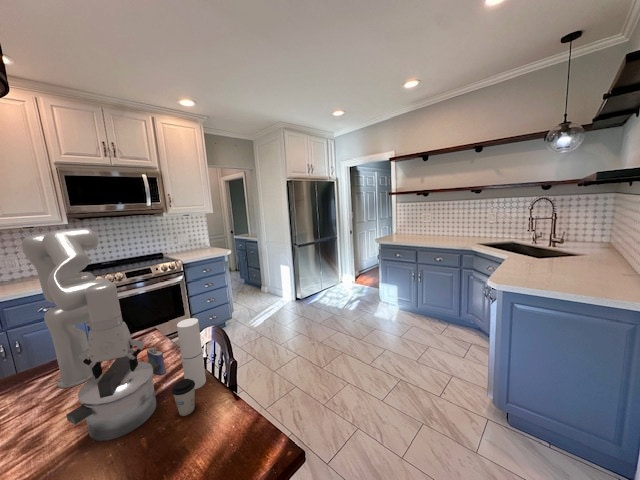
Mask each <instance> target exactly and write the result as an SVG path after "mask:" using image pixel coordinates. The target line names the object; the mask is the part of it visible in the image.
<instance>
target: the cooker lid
mask: <svg viewBox="0 0 640 480" xmlns="http://www.w3.org/2000/svg"><path fill="white" fill-rule="evenodd" d="M129 360H130V358H129V357H127V356H125V357H122V358H117V359H114V361H113V362H112V364H111V365H110V367H104V368H102V374H101V375H100V377H99V378H98V379H95V376H94V377H92V378H91V379H89V380H88V381H86V382H84V384H83V385H82V386H81V388H80V389H79V391H78V394H77V398H78V401H79V403H80V404H81V405H86V406H98V405H104V404H108V403H111V402H114V401H117V400H120V399H122V398H124V397H126V396H128V395H130V394H132V393H134V392H135V391H137V390H138V389H140V388H141V387H143V386H144V385H145V384H146V383H147V382H148V381H149V380H150V378H151V377H152V378H153V375H154V374H153V367H152V365H151V364H150V363H149V361H140V360H138V366H137V367H136V369H135V370H134V371H131V368H130V363H129Z"/></svg>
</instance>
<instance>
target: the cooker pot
mask: <svg viewBox="0 0 640 480" xmlns="http://www.w3.org/2000/svg"><path fill="white" fill-rule="evenodd" d="M150 364H151V365H152V367H153V375H155V374H154V373H156V372H157V371H159V370H160V369H161V366H160V364H158V363H155V362H152V363H150ZM153 381H154V380H153V376H152V377H151V378H150V380H149V381H148V382H147V383H146V384H145V385H144V386H143V387H141V388H140V389H138V390H137V391H135V392H134V393H132V394H130V395H128V396H126V397H124V398H122V399H120V400H117V401H114V402H111V403H108V404H104V405H98V406H86V405H83V404H81V405H80V406H78V407H76V408H74V409H73V410H71V411H70V412H68V413H66V414H65V415H66V419H67V422H68V423H71V424H73V425H74V426H76V425H77V424H79V423H81V422H82V421H84V420H85V421H86V426H87V430H88V434H89V437H90V438H91V439H93V440H94V441H98V442H99V441H101V442H103V441H104V442H105V441H109V440H113V439H114V440H115V439H118V438H120V437H122V436H125V435H127V434H130V433H132V432H133V431H134V430H136V429H137V428H139V427H140V426H142V425H144V423H146V421H148V419H150V417H151V416H152V415H153V414H154V412H155V411H156V409H157V398H156V393H155V387H154V382H153Z"/></svg>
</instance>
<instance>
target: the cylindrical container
mask: <svg viewBox="0 0 640 480" xmlns="http://www.w3.org/2000/svg"><path fill="white" fill-rule="evenodd" d="M176 329H177V336H178V343H179V348H180V349H179V351H180V357H181V363H182V371H183V377H184V378H183V379H190V380H193V381H194V382H195V390H197V389H200V388H201V387H203V386H205V384H206V382H207V377H206V370H205V363H204V361H205V360H204V355H203V354H204V353H203V348H202V347H203V346H202V340H201V339H202V337H201V331H200V324H199V319H198V318H194V317H191V318H186V319H182V320H181V321H179V322H178V323H177V325H176Z"/></svg>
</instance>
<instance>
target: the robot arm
mask: <svg viewBox="0 0 640 480" xmlns="http://www.w3.org/2000/svg"><path fill="white" fill-rule="evenodd" d="M98 237H99V236H98V235H97V234H96V232H95V231H94V230H93V229H91V228H89V227H80V228H79V227H78V228H68V229H66V228H65V229H58V230H52V231H50V232H45V233H39V234H33V235H29V236H26V237H24V239H22V241H21V248H22V251H23V253H24V256H25V257H26V258H27V260H28V261H29V262H30V263H31V264H32V265H33V267H34V268H35V270H36V272H37V277H38V280H39V283H40V287H41V291H42V294H43V297H44V298H45V300H46V301H47V302H49V303H52V304H53V303H54V304H55V305H56V306H54V307H51V308H50V309H48V310H47V311H45V314H44V317H43V318H44V322H45V325H46V327H47V328H48V331H49V333H50V336H51V339H52V343H53V347H54V352H55V356H56V360H57V365H58V370H59V374H60V378H58V380H57V381H56V386H57V388H59V389H68V388H72V387H77V386H79V385H81V384H83V383H84V384H85V383H86V382H88V381H89V380H90V379H92V378H93V377H95V379H98V378H99V377H100V375H101V374H102V370H103V367H102V362H105V361H111V360H116V359H117V358H122V357H125V356H127V357H129V358H130V360H129V363H130V368H131V371H134V370H135V369H136V367H137V366H138V361H139V360H138V356H139V354H140V353H141V351H142V350H143V347H144V345H145V342H144V341H142V340H141V341H140V340H137V339H132V336H131V332H130V330H129V328H128V325H127V324H126V322H125V321H124V320H123V317H122V316H123V315H122V311H121V305H120V300H119V295H118V290H117V285H116V284H115V283H114V282H112V281H110V279H108V278H97V279H96V277H95V275H94V274H93V273H91V272H88V271H84V272H83V270H84V269H86V267H88V265H89V264H90V257H89V255H88V254H87V253H86V251H91V250H95V249H96V248H97V247H98V245H99V238H98ZM82 324H85V326H86V327H90V330H89V331H88V339H87V335H86V332H85V331H84V330H83V329H80V328H78V327H77V326H79V325H82ZM134 346H135V347H137V348H136V350H135V349H134V348H133V347H134Z"/></svg>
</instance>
